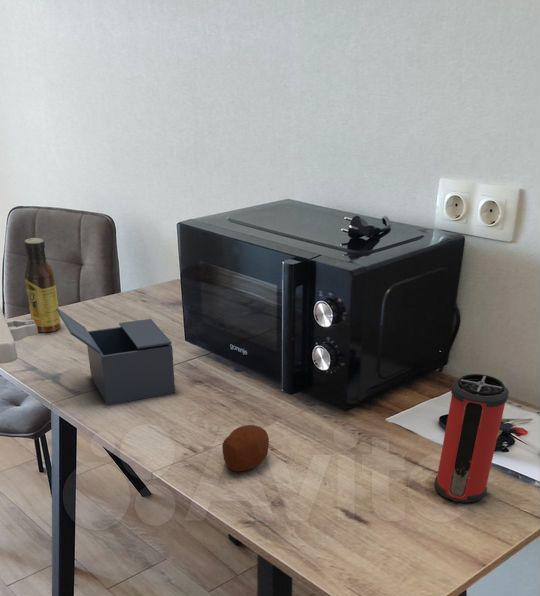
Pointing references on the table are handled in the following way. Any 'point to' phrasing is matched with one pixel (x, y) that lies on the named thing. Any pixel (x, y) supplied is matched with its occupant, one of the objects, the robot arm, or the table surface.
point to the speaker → (470, 437)
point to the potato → (245, 447)
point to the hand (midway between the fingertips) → (36, 327)
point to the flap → (78, 330)
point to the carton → (132, 362)
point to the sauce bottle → (41, 287)
